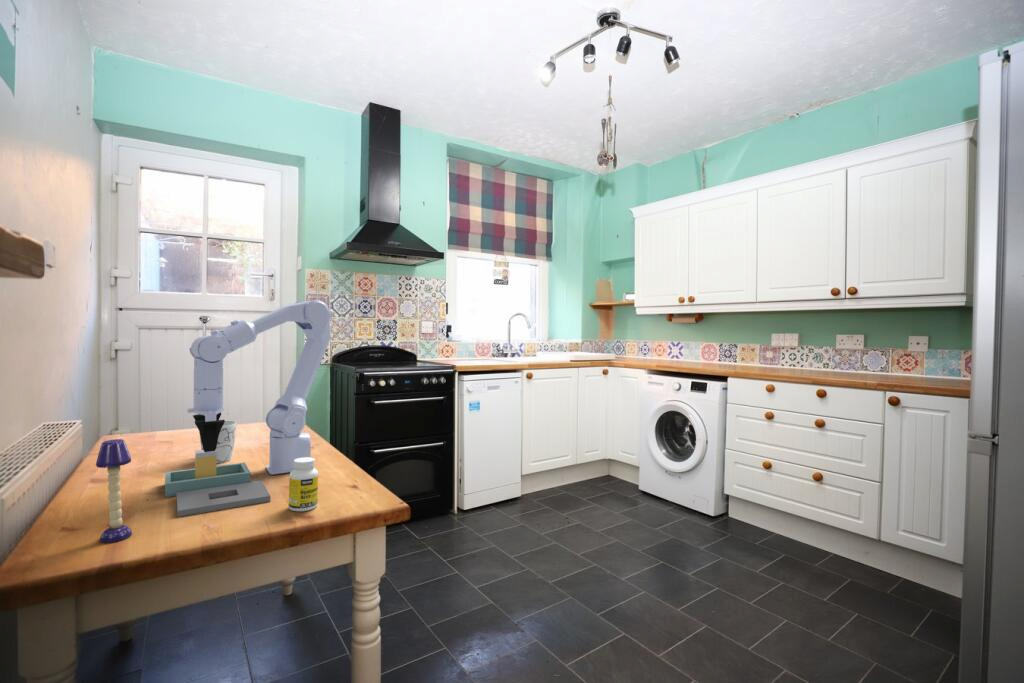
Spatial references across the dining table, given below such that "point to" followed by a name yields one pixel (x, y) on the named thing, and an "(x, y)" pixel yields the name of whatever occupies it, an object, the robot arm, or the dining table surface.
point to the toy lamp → (114, 487)
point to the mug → (225, 442)
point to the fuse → (205, 464)
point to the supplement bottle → (303, 485)
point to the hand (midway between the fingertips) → (208, 447)
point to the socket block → (204, 499)
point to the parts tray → (205, 479)
